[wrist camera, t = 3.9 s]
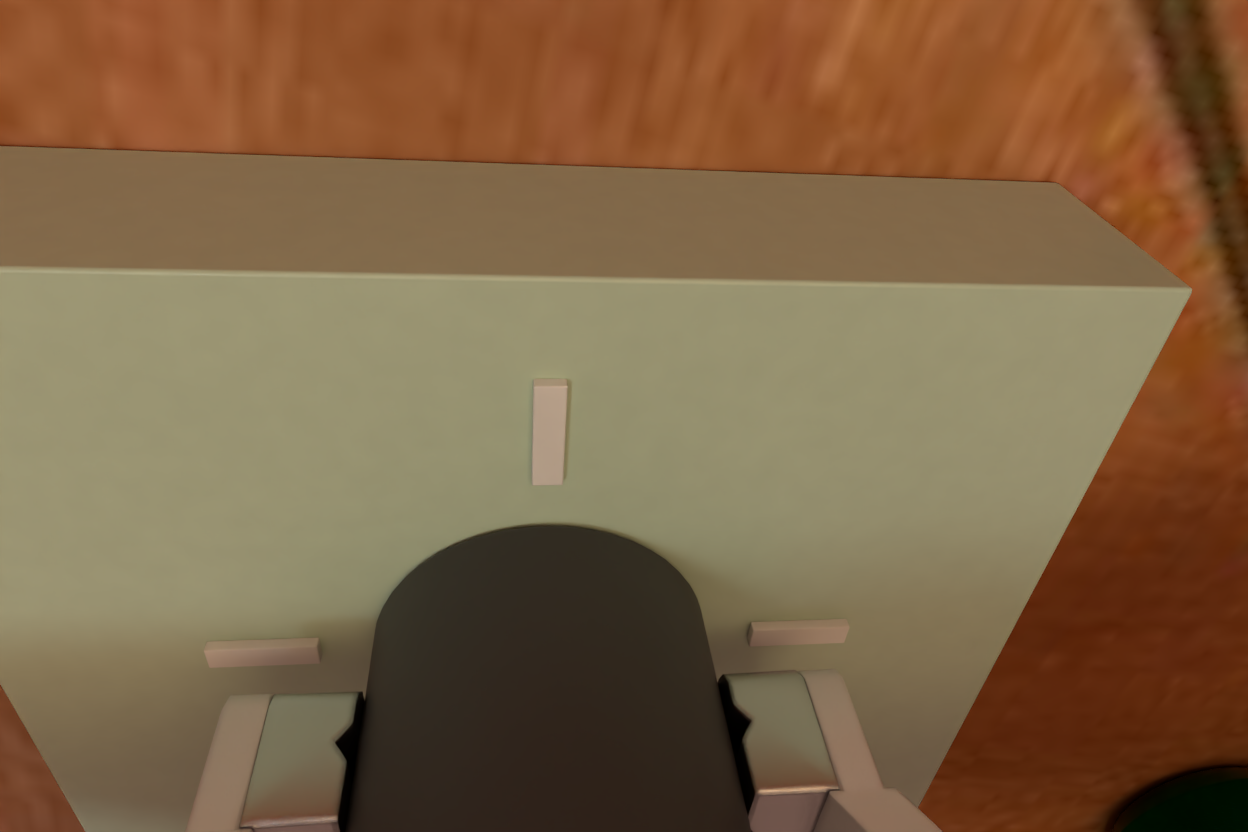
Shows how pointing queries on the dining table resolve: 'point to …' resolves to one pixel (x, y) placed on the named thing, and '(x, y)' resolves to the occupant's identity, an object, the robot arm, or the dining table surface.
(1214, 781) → the soda can
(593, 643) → the knob
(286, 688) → the panel
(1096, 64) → the dining table surface
